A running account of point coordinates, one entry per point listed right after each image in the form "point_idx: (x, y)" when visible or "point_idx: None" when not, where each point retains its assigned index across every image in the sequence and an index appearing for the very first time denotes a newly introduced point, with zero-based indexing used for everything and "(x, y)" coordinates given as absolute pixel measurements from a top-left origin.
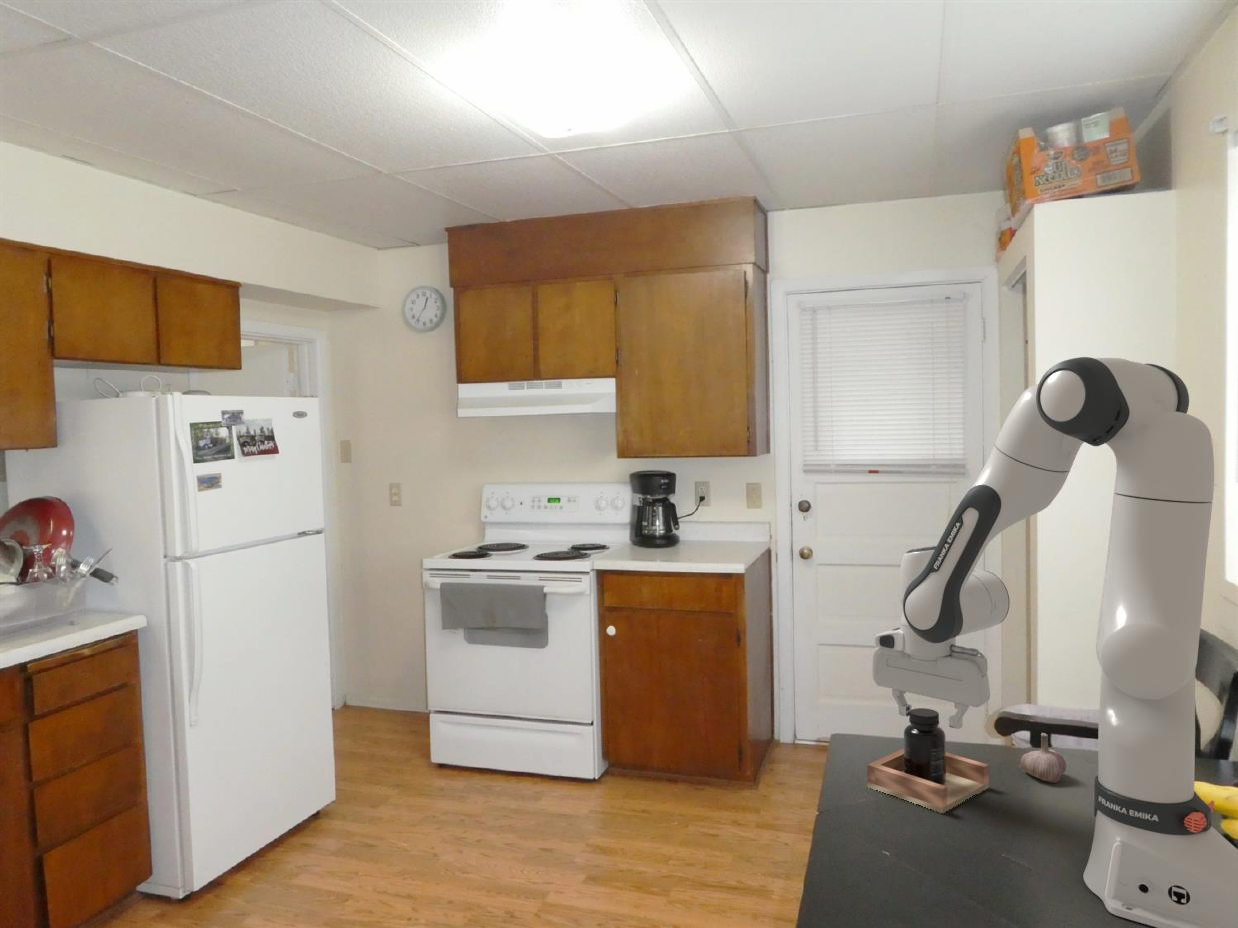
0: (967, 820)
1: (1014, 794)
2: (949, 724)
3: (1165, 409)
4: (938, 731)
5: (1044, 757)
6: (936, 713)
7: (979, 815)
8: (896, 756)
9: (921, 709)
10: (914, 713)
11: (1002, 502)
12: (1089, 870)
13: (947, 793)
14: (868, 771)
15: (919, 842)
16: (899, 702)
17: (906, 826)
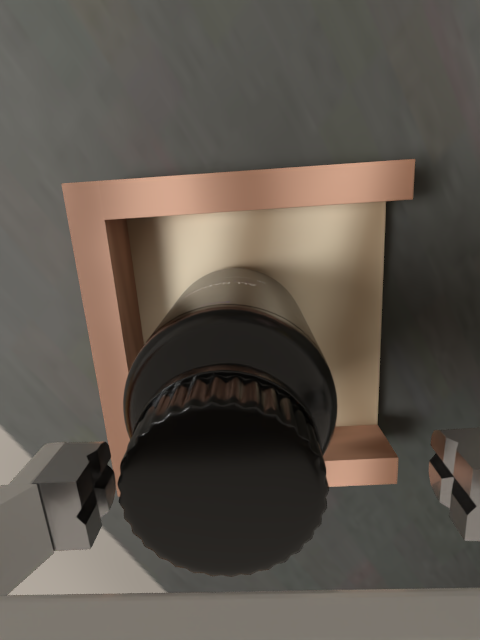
0: (435, 421)
1: (466, 148)
2: (440, 497)
3: None
4: (318, 423)
5: None
6: (303, 460)
7: (446, 373)
8: (123, 369)
9: (167, 460)
10: (191, 555)
11: None
12: None
13: (336, 358)
14: None
15: (405, 580)
16: (23, 578)
17: (344, 544)
